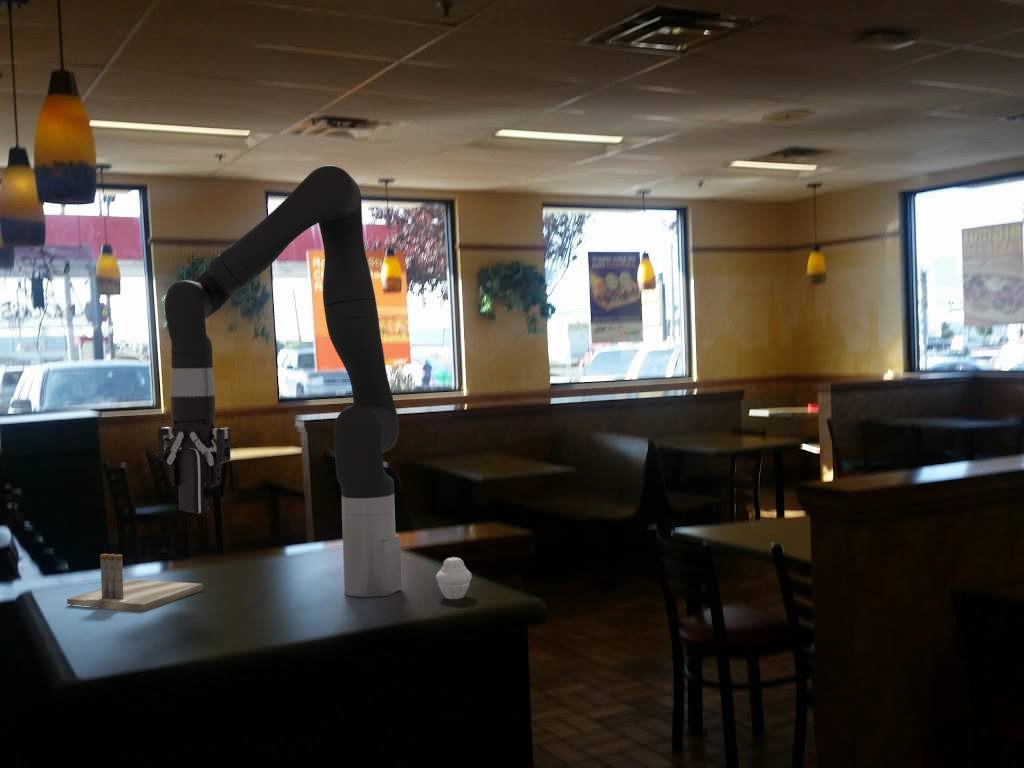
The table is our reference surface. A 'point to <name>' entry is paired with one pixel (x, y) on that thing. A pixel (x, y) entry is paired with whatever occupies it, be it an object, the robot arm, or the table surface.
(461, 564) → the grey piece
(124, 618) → the table surface
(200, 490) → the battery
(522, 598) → the table surface
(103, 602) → the board
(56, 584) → the table surface
